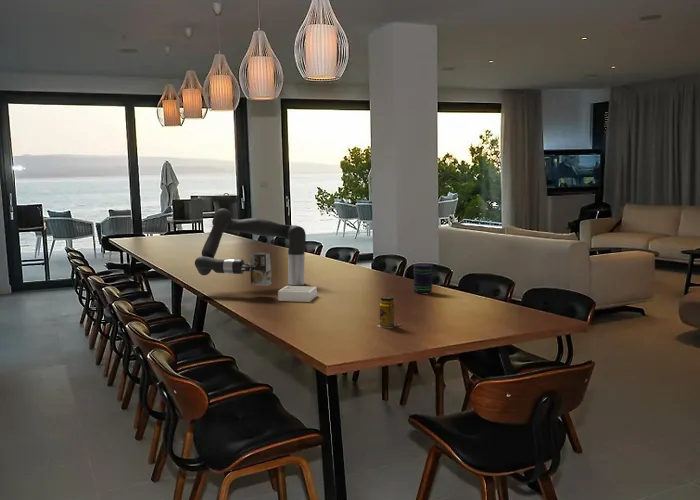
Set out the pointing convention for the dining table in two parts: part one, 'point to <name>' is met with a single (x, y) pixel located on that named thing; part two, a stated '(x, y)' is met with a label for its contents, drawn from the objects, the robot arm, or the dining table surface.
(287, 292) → the white square tray
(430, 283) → the storage jar
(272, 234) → the robot arm
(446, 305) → the dining table surface
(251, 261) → the coffee box
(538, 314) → the dining table surface
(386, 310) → the condiment
